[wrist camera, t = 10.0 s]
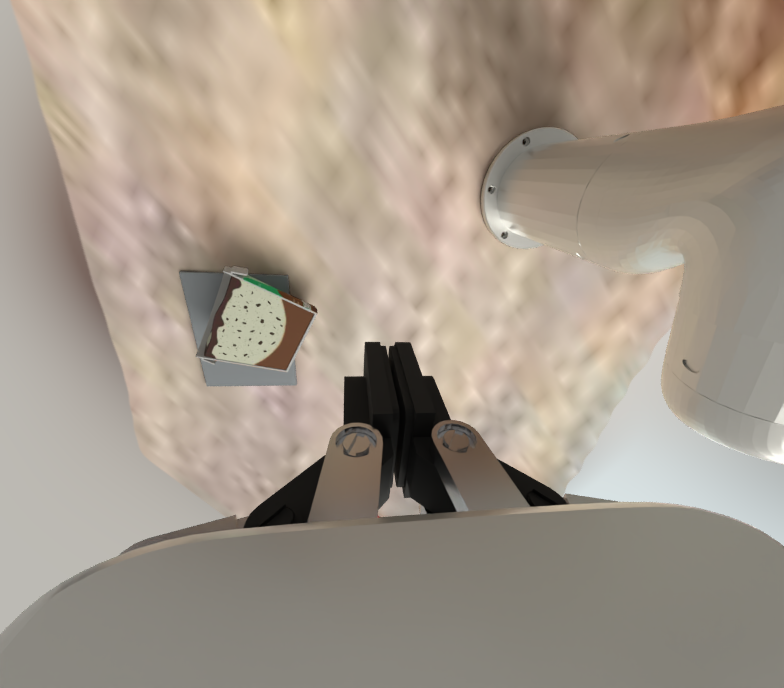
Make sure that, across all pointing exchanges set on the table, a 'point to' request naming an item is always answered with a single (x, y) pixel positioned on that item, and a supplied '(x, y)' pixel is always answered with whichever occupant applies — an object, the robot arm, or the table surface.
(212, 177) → the table surface
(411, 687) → the robot arm
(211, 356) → the food container
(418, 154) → the table surface
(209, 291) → the mat
